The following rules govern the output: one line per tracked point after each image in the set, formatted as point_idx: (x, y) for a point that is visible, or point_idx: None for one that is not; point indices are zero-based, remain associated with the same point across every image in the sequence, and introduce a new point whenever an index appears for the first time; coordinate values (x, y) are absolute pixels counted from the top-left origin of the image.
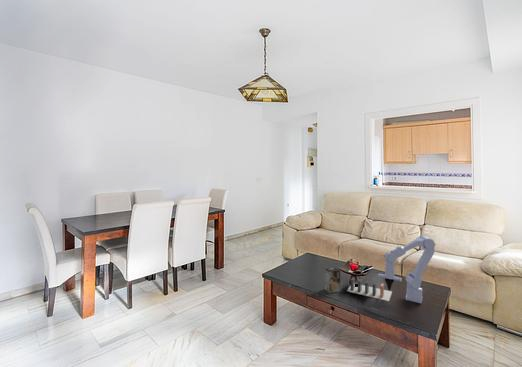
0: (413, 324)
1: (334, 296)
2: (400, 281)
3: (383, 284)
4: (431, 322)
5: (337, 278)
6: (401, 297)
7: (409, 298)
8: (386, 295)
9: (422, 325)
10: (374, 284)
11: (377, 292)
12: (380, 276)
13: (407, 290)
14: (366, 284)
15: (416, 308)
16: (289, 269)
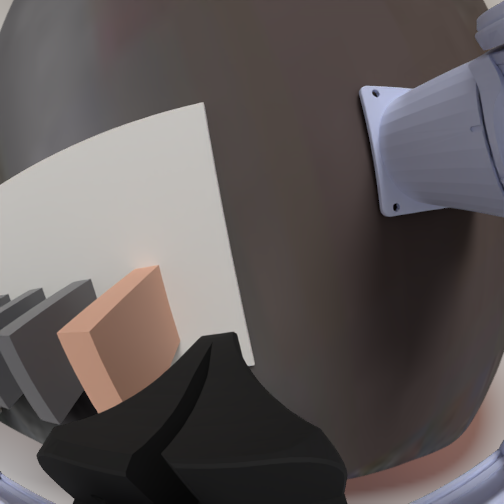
0: (412, 453)
1: (27, 430)
2: (492, 469)
3: (101, 369)
4: (482, 386)
5: None
6: (332, 171)
7: (422, 201)
8: (185, 259)
9: (443, 433)
10: (49, 417)
11: (90, 254)
12: (17, 502)
13: (455, 182)
14: (12, 398)
15: (454, 307)
16: None
